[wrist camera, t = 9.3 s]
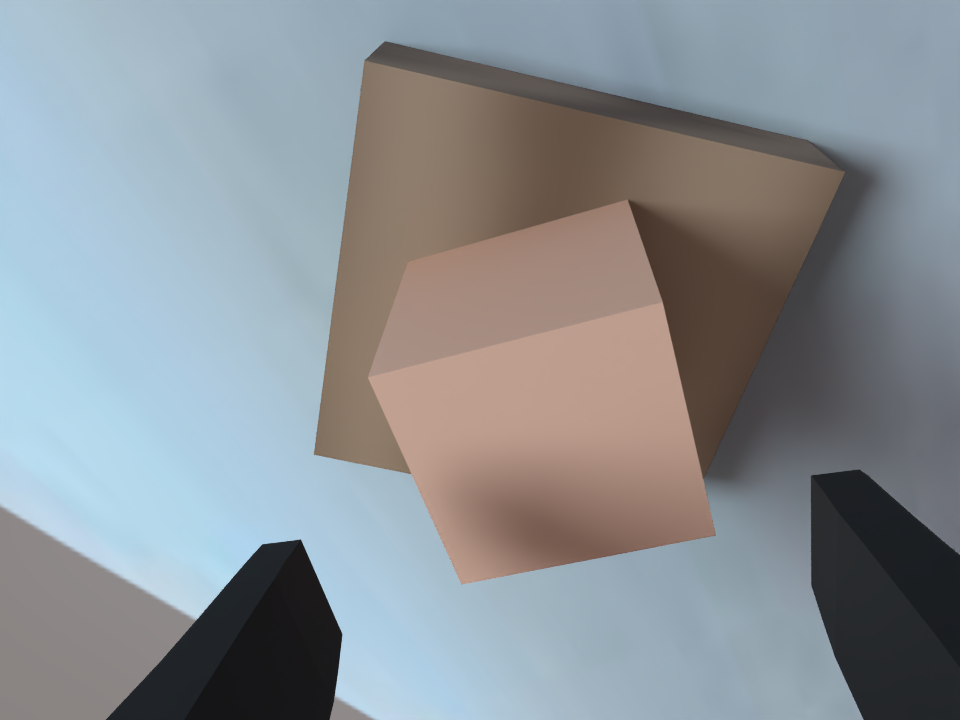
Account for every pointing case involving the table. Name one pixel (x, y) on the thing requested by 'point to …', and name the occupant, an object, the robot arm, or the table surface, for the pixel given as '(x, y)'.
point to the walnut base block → (558, 194)
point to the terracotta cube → (542, 398)
